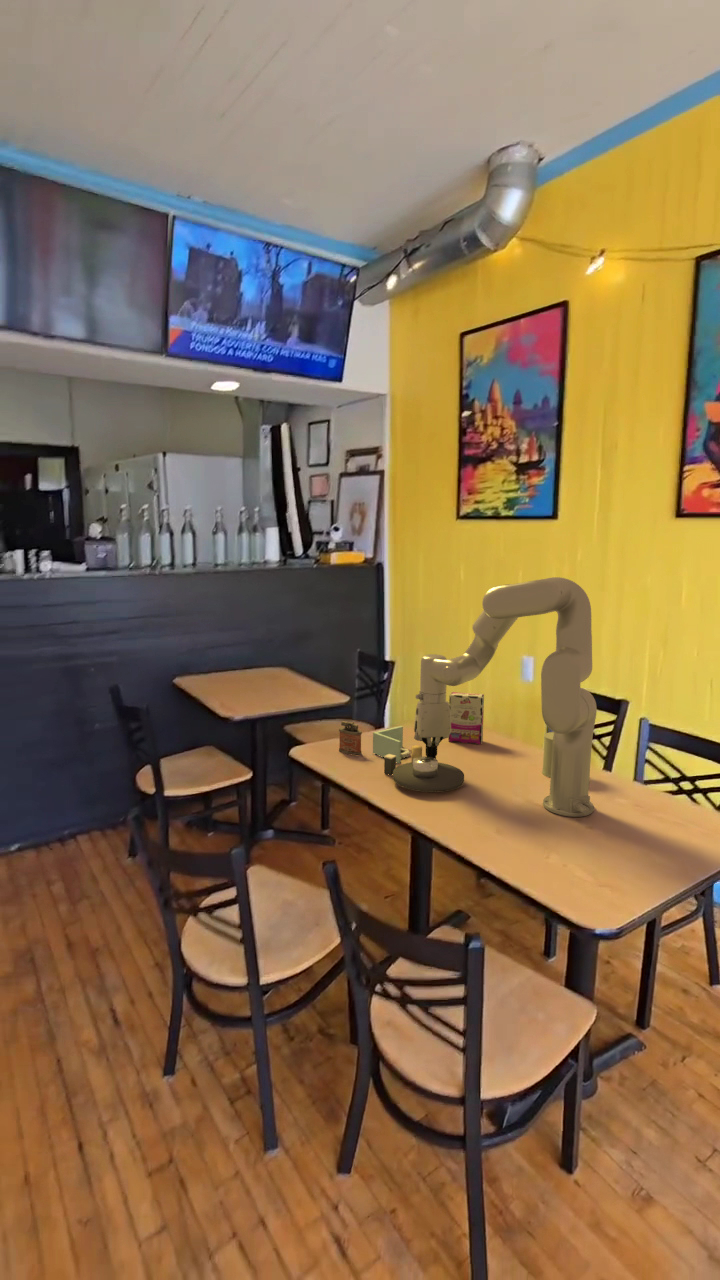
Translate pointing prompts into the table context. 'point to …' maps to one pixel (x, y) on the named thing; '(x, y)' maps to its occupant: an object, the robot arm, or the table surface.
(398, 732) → the l-shaped corner panel
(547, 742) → the can
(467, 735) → the candy bar box
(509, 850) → the table surface
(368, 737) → the table surface
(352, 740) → the lighter
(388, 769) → the post
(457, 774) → the turntable
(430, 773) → the cover
